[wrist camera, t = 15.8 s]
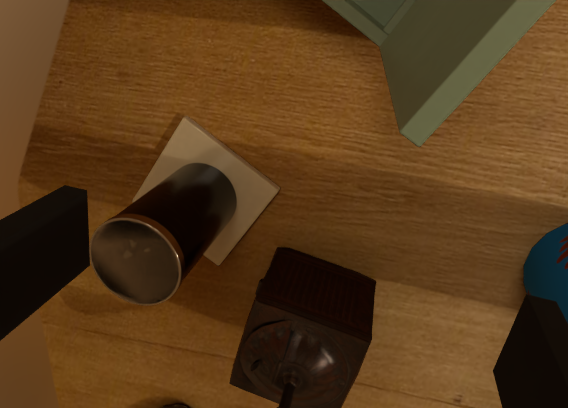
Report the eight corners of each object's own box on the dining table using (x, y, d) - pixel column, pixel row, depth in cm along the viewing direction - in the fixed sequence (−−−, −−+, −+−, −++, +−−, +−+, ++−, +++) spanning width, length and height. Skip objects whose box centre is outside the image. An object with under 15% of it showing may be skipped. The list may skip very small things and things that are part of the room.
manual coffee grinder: (272, 240, 46) (204, 367, 30) (379, 278, 45) (368, 430, 29) (238, 354, 53) (168, 507, 37) (331, 389, 52) (300, 563, 36)
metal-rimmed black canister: (155, 200, 46) (74, 265, 35) (190, 146, 43) (113, 197, 32) (213, 243, 47) (152, 322, 35) (252, 193, 44) (198, 261, 32)
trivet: (135, 198, 48) (131, 201, 47) (186, 115, 43) (183, 117, 42) (221, 262, 49) (218, 266, 48) (280, 187, 44) (278, 190, 43)
